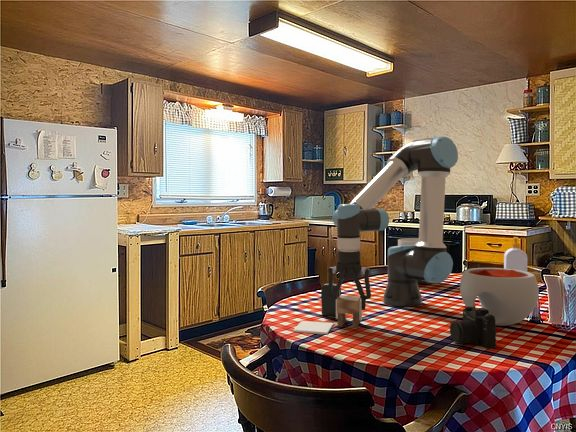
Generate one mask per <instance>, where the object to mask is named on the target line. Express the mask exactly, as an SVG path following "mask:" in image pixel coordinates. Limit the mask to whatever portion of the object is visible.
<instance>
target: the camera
mask: <svg viewBox="0 0 576 432" xmlns="http://www.w3.org/2000/svg"><path fill="white" fill-rule="evenodd" d="M476 307H477V306H476V305H475V306H473V307H466V306H465V307H464V308H463V309H462V318H461V319H462V320H454V321H452V322H451V323H450V326H449V335H450V337H451V340H452V341H453V343H456V344H466V343H467V344H473V345H475V346H481V347H483V348H485V349H486V350H487V349H488V350H495V349H496V346H497V341H496V340H497V335H496V333H497V331H496V330H497V325H495V321H496V320H495V317H494V316H493V315H492V314H489V310H488V309H485V308H482V307H479V308H476Z"/></svg>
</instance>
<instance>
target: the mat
mask: <svg viewBox="0 0 576 432" xmlns="http://www.w3.org/2000/svg"><path fill="white" fill-rule="evenodd" d="M334 324H335V323H334V322H323V321H308V320H301V321H300V322H299V323H298V324H297V326H295V328H294V329H293V330H292V332H293V333H305V334H319V335H328V334H329V332H330V331H331V329H332V328H333V326H334Z"/></svg>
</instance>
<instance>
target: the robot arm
mask: <svg viewBox="0 0 576 432" xmlns="http://www.w3.org/2000/svg"><path fill="white" fill-rule="evenodd" d="M458 159H459V152H458V148H457V145H456V144H455V143H454V141H453V140H452V139H451V138H450V137H447V136H434V137H428V138H421V139H413V140H411V141H409V142H407V143H405V144H404V145H403V146H401V147H400V148H398V149H397V150H396V151H395V152H394V153H393V154H392V155H391V156H390V157H389V158H388V159H387V162H386V165H385V166H384V167H383V168H382V169H381V170H380V171H379V172H378V173H377V174H376V175H375V176H374V177H373V179H371V180H370V181H369V183H367V184H366V186H365V187H363V188H362V190H361V191H360V192H359V193H358V194H356V196H355V197H354V198H353V199H352V200H351V201H350V202H349V203H341V204H339V205H338V206H337V209H336V210H335V211H334V212H333V214H332V222H333V225H335V226H336V228H337V229H336V231H337V233H336V234H337V236H336V237H337V244H336V245H337V249H338V251H337V264H336V265H335V266H330V267H328V274H329V275H328V292H327V296H328V297H331V298H332V299H333V308H336V316H335V320H338V313H337V299H338V298H337V296H338V293H339V290H340V288H341V289H342V286H343V285H342V284H343V282H344V279H350V280H351V279H353V282H354V284H355V286H356V289H357V291H358V296H360V297H361V299H360V300H359V320H360V321H362V320H363V311H365V309H366V308H367V307H366V306H367V305H366V304H367V302H366V301H367V300H370V299H371V297H372V291H371V284H370V268H369V267H363V266H362V265H361V251H360V250H361V233H362V232H379V231H385V230H386V229H387V228H388V226H389V224H390V217H389V214H388V212H387V211H386V210H385V209H382V208H374V207H375V206H376V205H377V204H378V203H379V202H380V201H381V200H382V199H383V198H384V197H385V195H387V193H388V192H389V191H390V190H391V189H392V188H394V186H395V185H396V184H397V183H398V182H399V180H401V179H402V178H406V177H407V176H408V175H409V174H410V173H412V172H415V171H417V174H418V176H420V177H421V178H420V179H421V181H420V183H421V186H420V188H421V189H420V203H419V205H420V207H419V208H420V209H419V227H418V238H419V241H418V242H417V243H416V244H415V245H405V246H398V245H395V246H389V248H388V249H387V256H386V260H387V263H386V264H387V283H386V287H385V290H384V293H383V298H382V299H383V300H382V301H383V303H384V304H387V305H389V306H395V307H416V306H421V305H422V304H423V297H422V293H421V291H420V288H419V284H418V283H417V280H422V281H427V282H428V283H429V284H430V283H432V284H433V283H434V284H440V283H443V282H444V281H446V280H447V279H448V278H449V277H450V275H451V273H452V271H453V266H454V261H453V257H452V256H451V254H450V253H448V252H447V246H446V245H445V243H444V242H443V240H444V236H443V235H444V219H445V217H444V216H445V200H446V199H445V196H446V178H447V177H448V176H449V175H451V169H452V168H453V167H454V166H455V165H456V164H457V162H458ZM336 272H337V273H338V274H339V275H340V276H339V278H338V280H337V283H336V284H337V286H336V289H335V292H334V294H333V293H332V290H333V284H334V280H335V273H336ZM360 272H362V273H361V274H362V275H364V276H363V277H364V285H365V286H364V287H365V291H364V289H363V286H362V284H361V281H360V277H359V274H360Z"/></svg>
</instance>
